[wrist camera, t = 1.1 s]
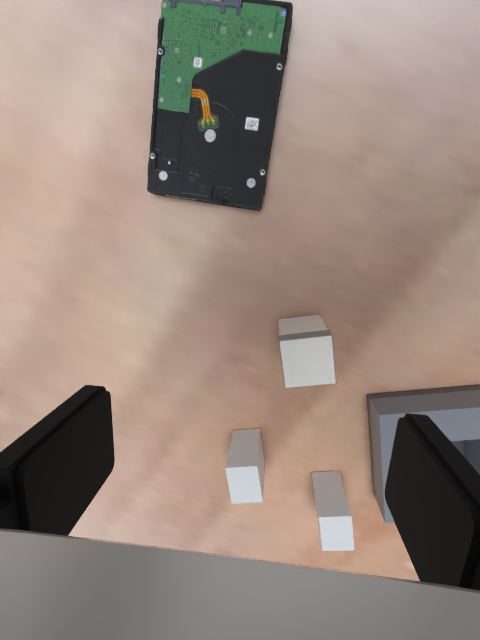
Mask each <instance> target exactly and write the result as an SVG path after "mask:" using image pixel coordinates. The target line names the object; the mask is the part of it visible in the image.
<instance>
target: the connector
mask: <svg viewBox="0 0 480 640" xmlns="http://www.w3.org/2000/svg"><path fill="white" fill-rule="evenodd" d="M278 321H279V346H280V354H281V361H282V369H283V377H284V385H285V388H289V387H300V386H311V385H322V384H333V383H336V376H335V365H334V354H333V342H332V334H331V332H330V331H329V330H328V329H327V327H326V325H325V324H324V322H323V320H322V318H321V317H320V315H311V316H302V317H294V318H286V319H278Z"/></svg>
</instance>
